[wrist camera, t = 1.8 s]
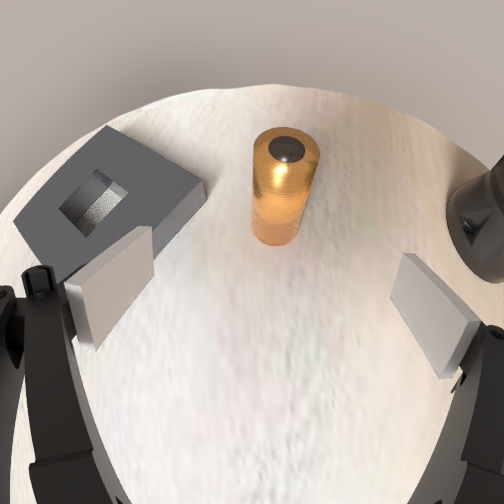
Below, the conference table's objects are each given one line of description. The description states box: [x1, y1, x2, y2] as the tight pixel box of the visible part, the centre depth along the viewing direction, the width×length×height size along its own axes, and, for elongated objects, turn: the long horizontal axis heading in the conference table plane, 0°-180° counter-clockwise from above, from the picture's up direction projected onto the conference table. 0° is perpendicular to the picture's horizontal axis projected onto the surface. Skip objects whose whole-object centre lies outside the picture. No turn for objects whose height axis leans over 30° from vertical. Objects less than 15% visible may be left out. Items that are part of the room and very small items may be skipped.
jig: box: [13, 125, 207, 284], centre depth 31 cm, size 18×18×4 cm
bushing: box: [252, 127, 320, 246], centre depth 27 cm, size 5×5×12 cm
